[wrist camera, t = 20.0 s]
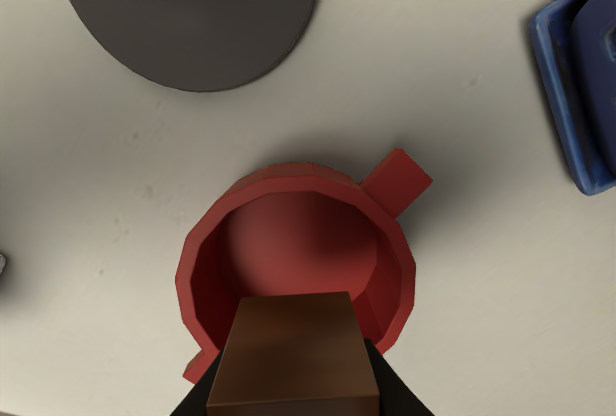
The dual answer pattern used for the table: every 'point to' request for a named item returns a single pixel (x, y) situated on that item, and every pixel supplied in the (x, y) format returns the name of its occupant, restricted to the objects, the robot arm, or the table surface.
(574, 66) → the flower pot
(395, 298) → the pot
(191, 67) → the lid
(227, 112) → the table surface
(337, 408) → the block
